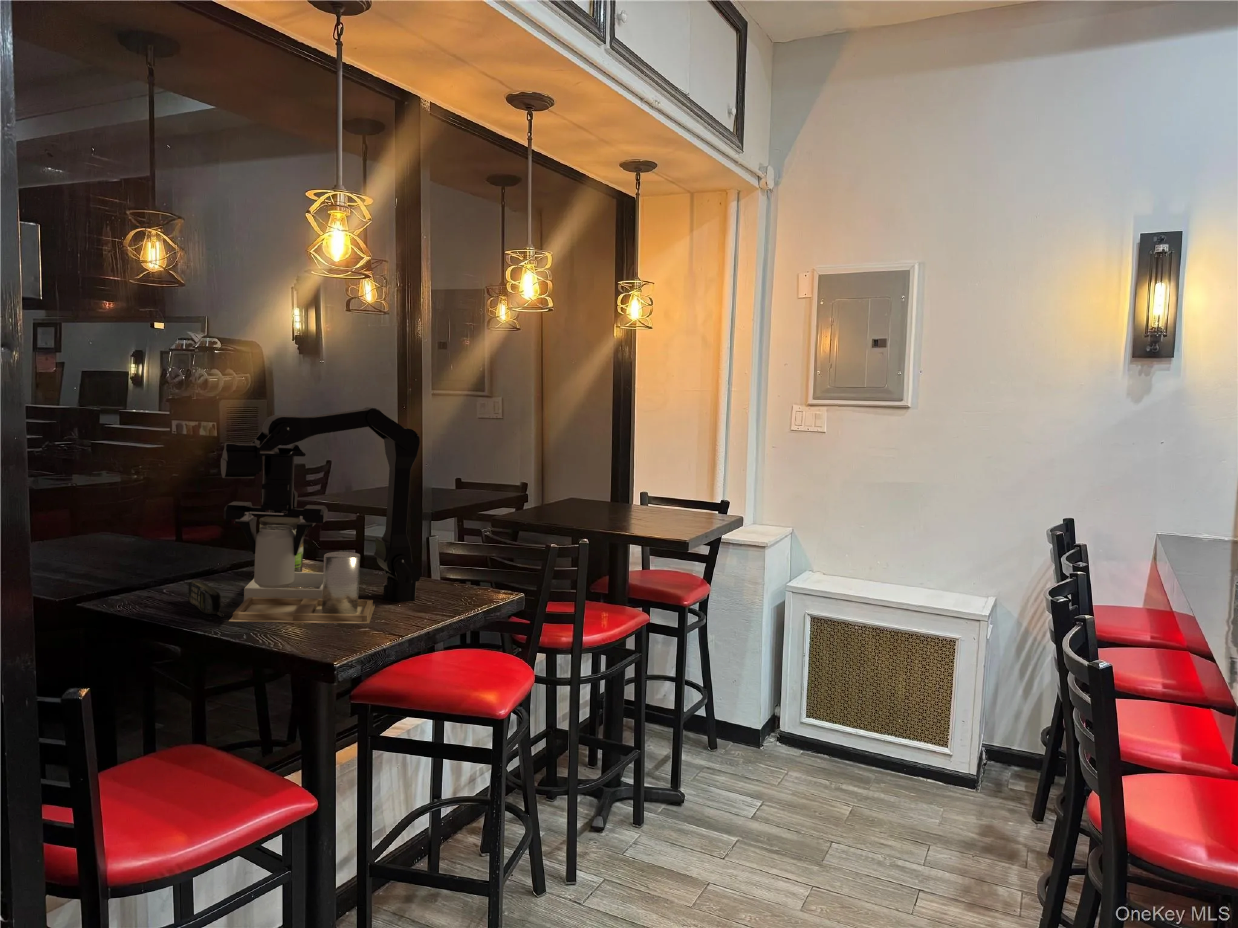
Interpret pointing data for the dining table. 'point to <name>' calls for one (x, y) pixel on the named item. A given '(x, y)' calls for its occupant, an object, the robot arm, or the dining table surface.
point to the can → (274, 556)
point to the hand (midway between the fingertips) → (275, 554)
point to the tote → (299, 581)
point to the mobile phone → (205, 597)
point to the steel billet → (340, 583)
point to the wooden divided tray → (297, 611)
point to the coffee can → (293, 523)
